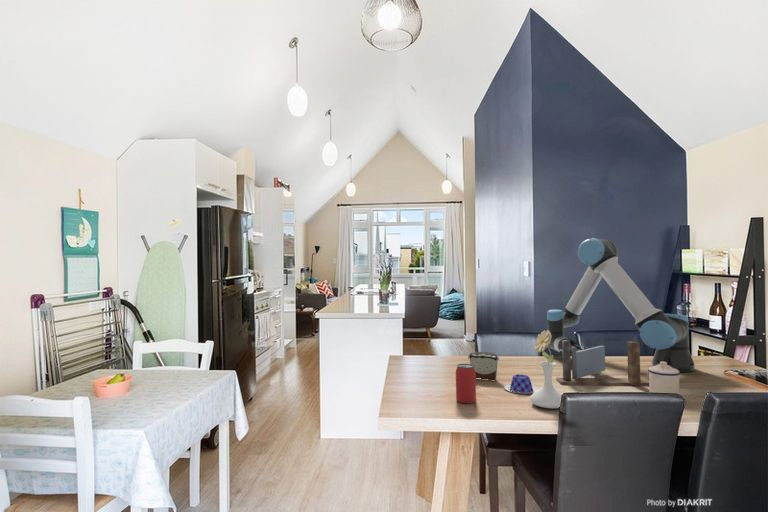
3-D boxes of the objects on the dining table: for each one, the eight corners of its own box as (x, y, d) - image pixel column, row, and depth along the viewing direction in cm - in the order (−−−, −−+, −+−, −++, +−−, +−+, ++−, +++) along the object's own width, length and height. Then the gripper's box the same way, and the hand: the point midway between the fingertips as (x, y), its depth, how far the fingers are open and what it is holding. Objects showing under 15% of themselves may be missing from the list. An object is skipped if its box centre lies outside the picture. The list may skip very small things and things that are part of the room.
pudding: (501, 385, 161) (500, 371, 161) (532, 385, 161) (532, 371, 161) (508, 395, 149) (508, 380, 149) (543, 395, 149) (543, 380, 149)
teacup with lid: (687, 399, 141) (686, 364, 141) (662, 401, 139) (661, 365, 140) (659, 389, 152) (658, 356, 153) (636, 390, 151) (635, 357, 151)
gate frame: (642, 381, 163) (641, 339, 163) (652, 386, 156) (650, 342, 156) (556, 380, 166) (555, 339, 166) (561, 385, 159) (560, 342, 159)
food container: (502, 377, 171) (501, 352, 172) (499, 381, 166) (499, 355, 166) (472, 374, 177) (471, 350, 177) (468, 378, 171) (467, 353, 171)
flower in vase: (529, 398, 144) (527, 325, 145) (565, 401, 141) (563, 326, 142) (531, 412, 132) (529, 331, 132) (570, 415, 129) (568, 332, 129)
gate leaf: (602, 369, 175) (601, 340, 175) (605, 370, 173) (605, 341, 173) (571, 378, 163) (570, 347, 163) (575, 379, 161) (574, 347, 162)
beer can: (454, 398, 146) (453, 363, 147) (472, 397, 147) (472, 362, 147) (459, 404, 140) (458, 368, 140) (478, 403, 140) (477, 367, 141)
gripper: (579, 353, 197) (609, 366, 174) (552, 354, 197) (578, 367, 173) (579, 337, 198) (608, 347, 174) (551, 338, 197) (577, 348, 173)
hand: (593, 357), depth 174 cm, fingers closed
